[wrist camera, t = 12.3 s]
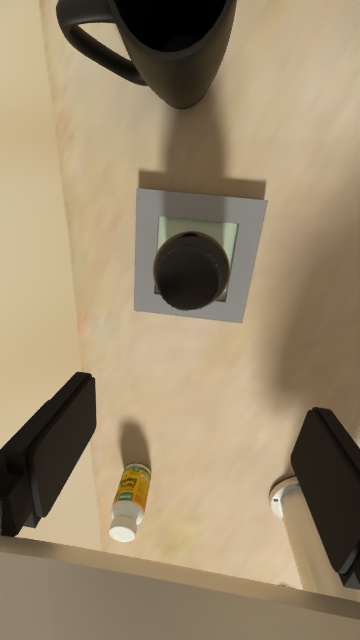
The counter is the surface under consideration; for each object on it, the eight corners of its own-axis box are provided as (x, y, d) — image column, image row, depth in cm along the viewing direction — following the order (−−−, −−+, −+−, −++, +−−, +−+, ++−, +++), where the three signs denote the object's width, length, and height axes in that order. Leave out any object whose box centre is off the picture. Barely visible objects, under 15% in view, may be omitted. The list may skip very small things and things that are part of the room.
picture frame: (263, 202, 25) (267, 200, 24) (239, 319, 30) (241, 323, 29) (140, 190, 26) (136, 188, 24) (137, 306, 31) (134, 310, 29)
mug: (96, 31, 21) (21, -112, 13) (224, 4, 20) (243, -179, 11) (113, 136, 24) (62, 81, 15) (226, 119, 23) (242, 47, 14)
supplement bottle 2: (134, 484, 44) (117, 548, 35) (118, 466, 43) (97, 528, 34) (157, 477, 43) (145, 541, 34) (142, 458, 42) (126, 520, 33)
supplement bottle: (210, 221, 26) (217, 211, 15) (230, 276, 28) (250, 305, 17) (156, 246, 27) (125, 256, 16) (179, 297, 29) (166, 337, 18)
